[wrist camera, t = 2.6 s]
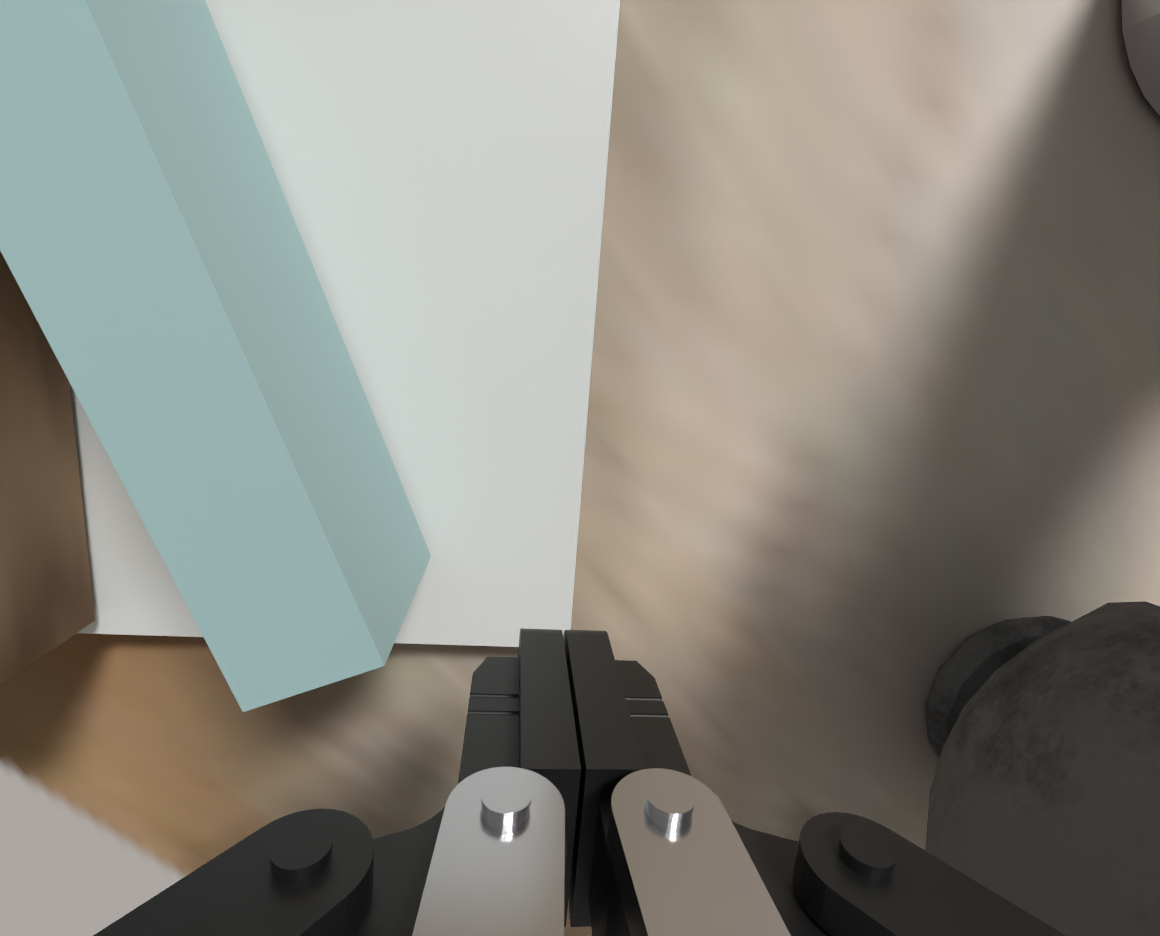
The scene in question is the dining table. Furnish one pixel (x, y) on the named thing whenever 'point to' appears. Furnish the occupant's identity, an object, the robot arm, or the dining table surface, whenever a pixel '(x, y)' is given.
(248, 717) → the dining table surface
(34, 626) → the arm
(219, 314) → the arm
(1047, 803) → the pitcher
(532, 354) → the board
